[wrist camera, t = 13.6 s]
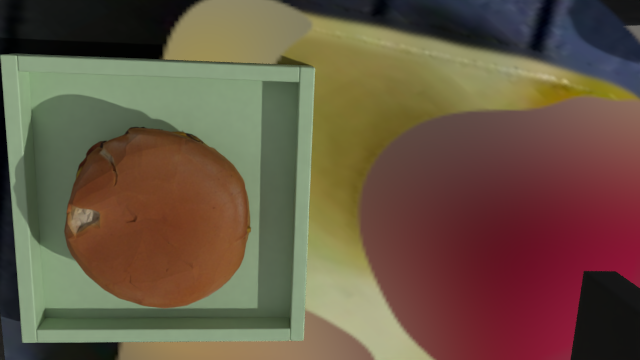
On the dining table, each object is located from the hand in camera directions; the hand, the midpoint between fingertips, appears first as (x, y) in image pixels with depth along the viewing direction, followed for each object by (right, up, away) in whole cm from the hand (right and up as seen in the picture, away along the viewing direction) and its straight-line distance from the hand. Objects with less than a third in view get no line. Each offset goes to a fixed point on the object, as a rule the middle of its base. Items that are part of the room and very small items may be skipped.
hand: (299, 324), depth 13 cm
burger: (-8, +2, +20) cm, 22 cm away
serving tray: (-8, +2, +20) cm, 22 cm away
